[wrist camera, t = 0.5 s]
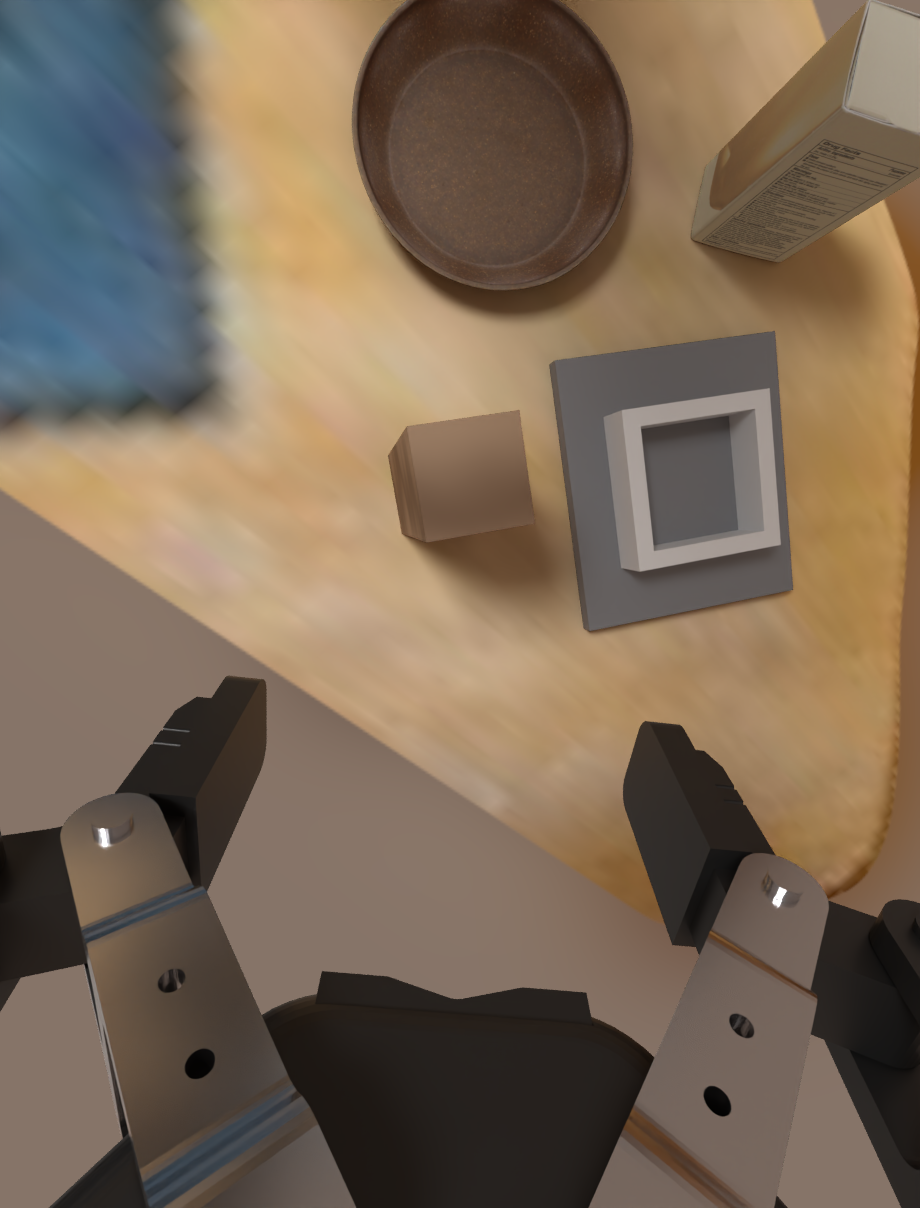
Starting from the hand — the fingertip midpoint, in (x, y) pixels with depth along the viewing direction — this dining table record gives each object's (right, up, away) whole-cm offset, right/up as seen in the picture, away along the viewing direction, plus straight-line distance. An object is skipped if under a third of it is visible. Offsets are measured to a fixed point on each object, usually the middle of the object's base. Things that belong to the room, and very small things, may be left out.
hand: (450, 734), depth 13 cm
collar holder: (+14, +10, +25) cm, 31 cm away
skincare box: (+17, +26, +24) cm, 39 cm away
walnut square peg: (-1, +10, +23) cm, 25 cm away
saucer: (+2, +27, +21) cm, 35 cm away
